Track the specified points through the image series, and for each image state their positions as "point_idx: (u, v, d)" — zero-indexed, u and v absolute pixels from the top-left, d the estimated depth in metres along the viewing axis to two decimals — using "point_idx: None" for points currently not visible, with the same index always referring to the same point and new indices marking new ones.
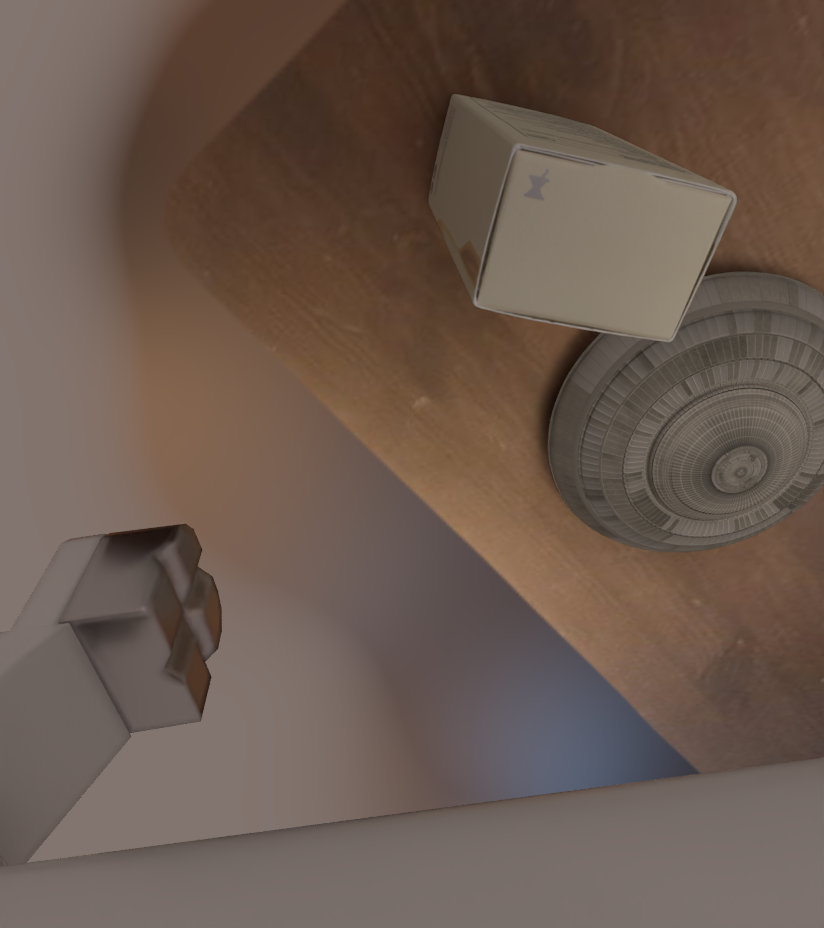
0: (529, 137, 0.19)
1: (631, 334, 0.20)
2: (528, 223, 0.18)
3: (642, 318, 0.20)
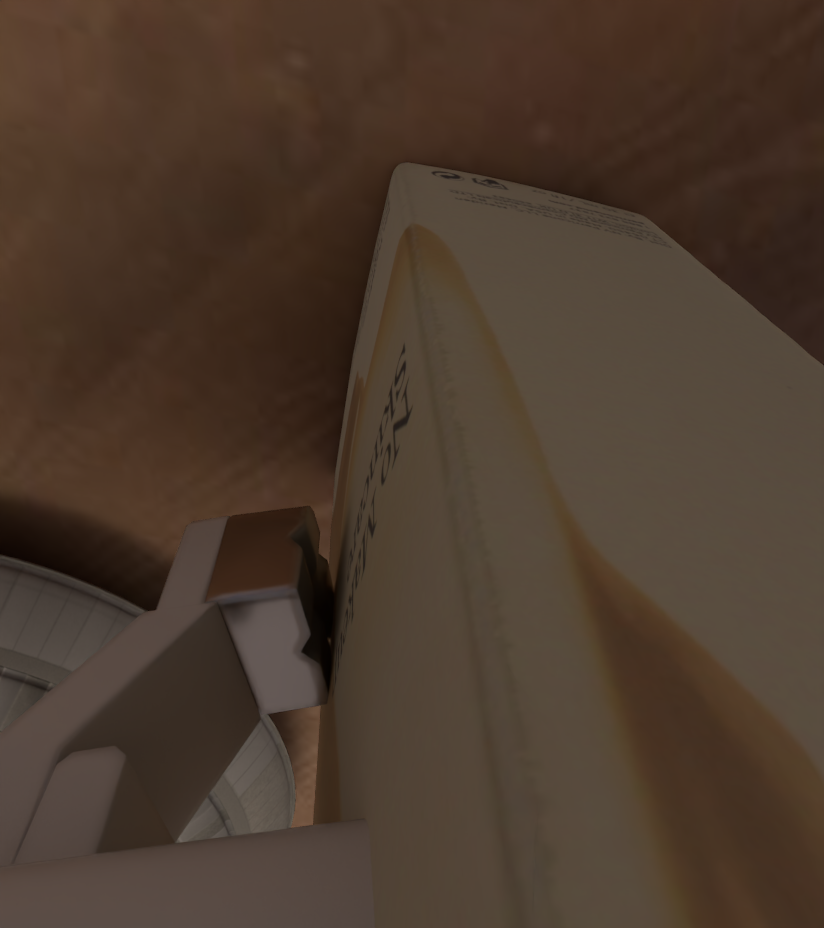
0: None
1: None
2: None
3: None
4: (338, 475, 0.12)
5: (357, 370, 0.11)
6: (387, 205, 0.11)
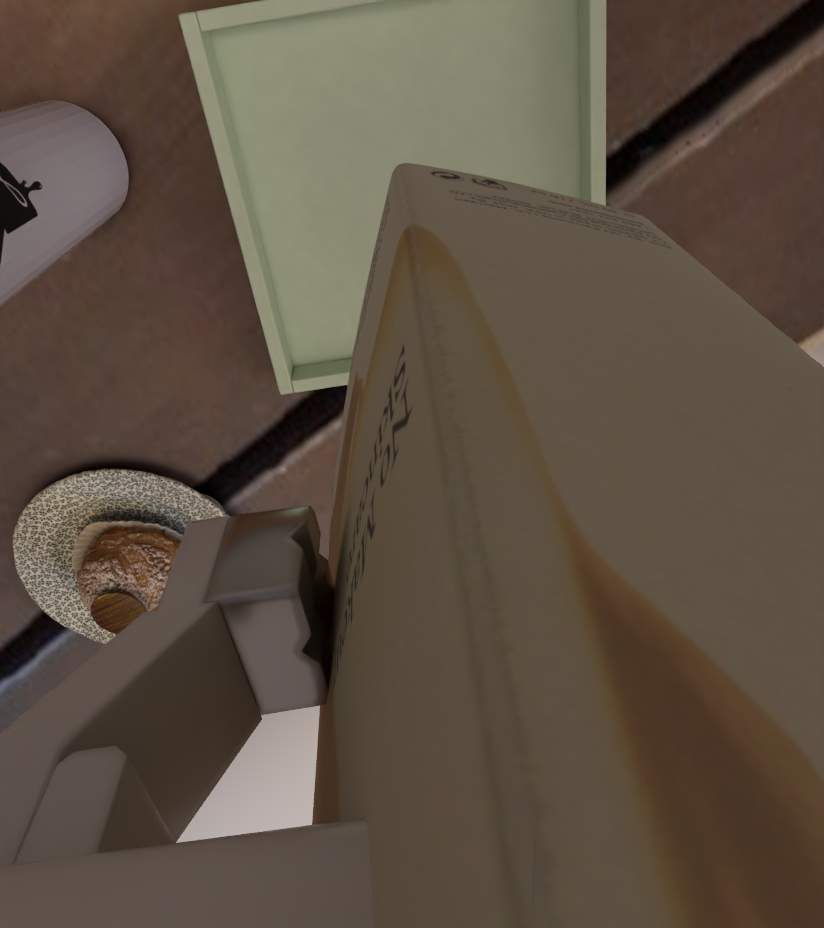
0: None
1: None
2: None
3: None
4: (337, 476, 0.12)
5: (356, 371, 0.11)
6: (387, 205, 0.11)
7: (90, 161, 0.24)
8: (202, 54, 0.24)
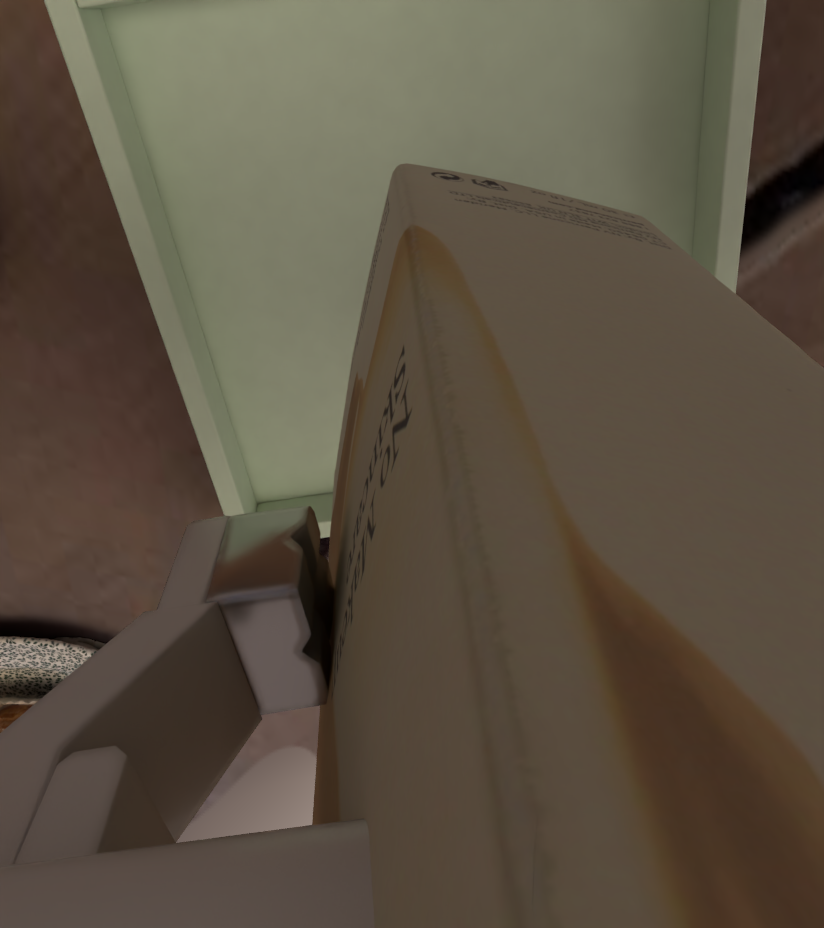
0: None
1: None
2: None
3: None
4: (337, 476, 0.12)
5: (356, 371, 0.11)
6: (386, 206, 0.11)
7: None
8: (83, 47, 0.14)
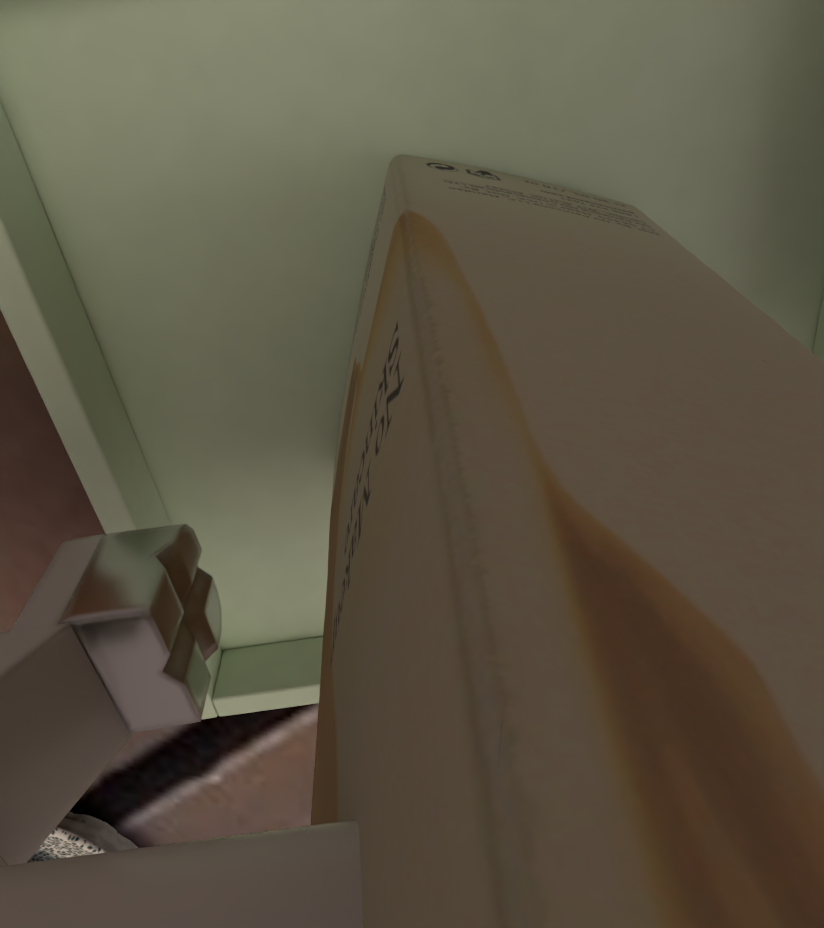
0: None
1: None
2: None
3: None
4: (337, 461, 0.12)
5: (355, 357, 0.11)
6: (383, 196, 0.11)
7: None
8: None
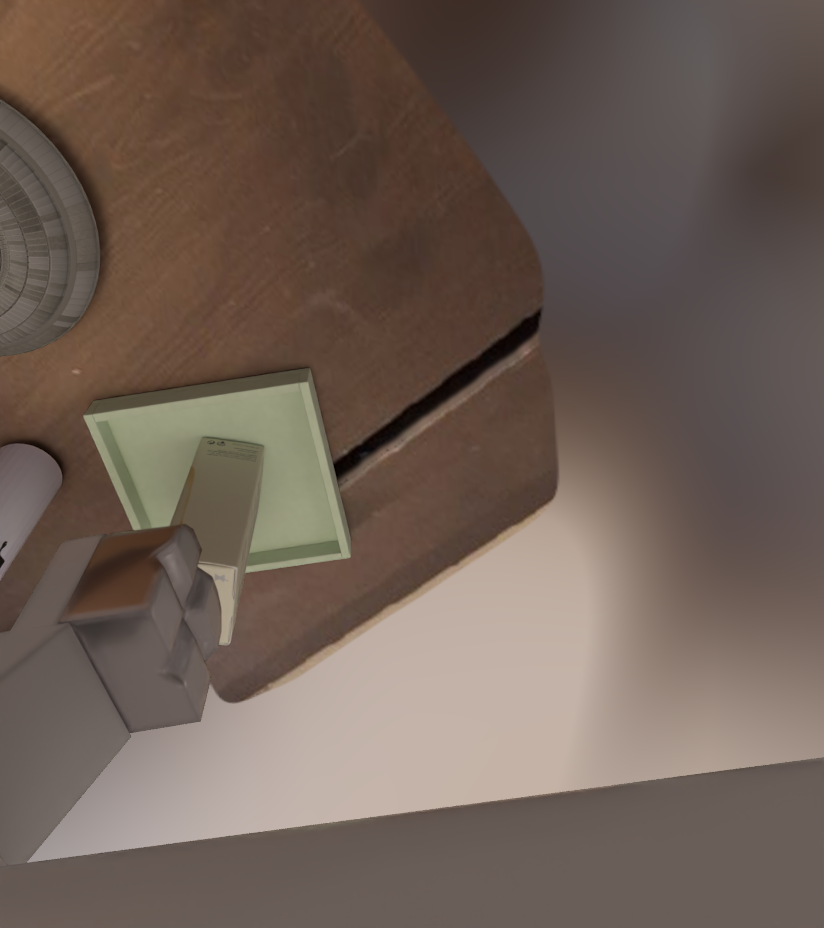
0: (241, 557, 0.40)
1: None
2: None
3: None
4: None
5: None
6: None
7: (36, 491, 0.45)
8: (97, 431, 0.45)
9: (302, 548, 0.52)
